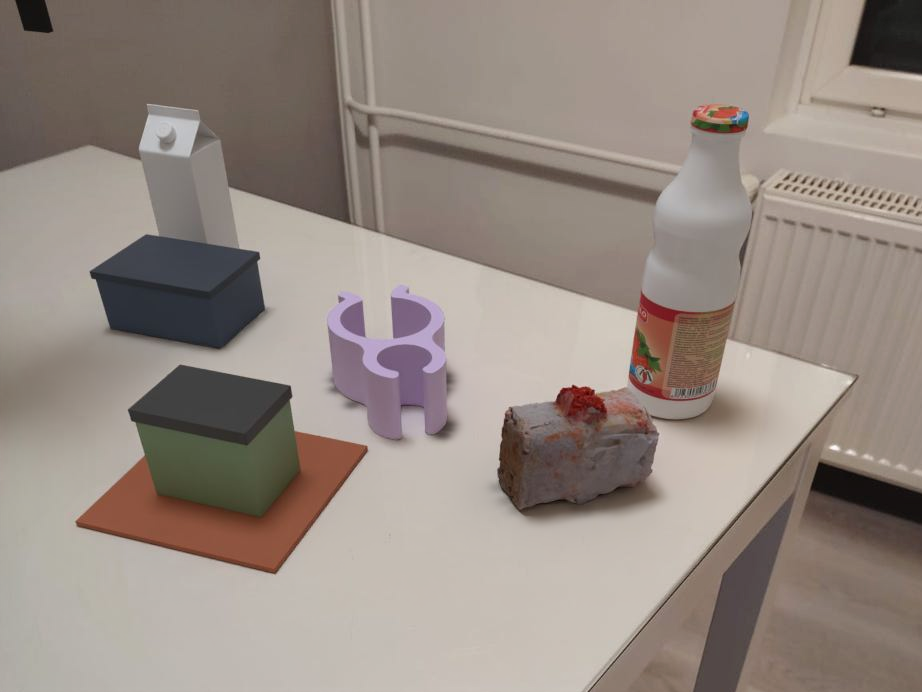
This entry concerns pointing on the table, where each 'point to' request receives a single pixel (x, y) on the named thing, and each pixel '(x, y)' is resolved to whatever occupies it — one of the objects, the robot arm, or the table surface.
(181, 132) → the milk carton
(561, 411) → the food item
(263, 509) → the box
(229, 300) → the lower tub
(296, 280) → the table surface
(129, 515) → the mat
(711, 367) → the fruit juice
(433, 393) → the clip
